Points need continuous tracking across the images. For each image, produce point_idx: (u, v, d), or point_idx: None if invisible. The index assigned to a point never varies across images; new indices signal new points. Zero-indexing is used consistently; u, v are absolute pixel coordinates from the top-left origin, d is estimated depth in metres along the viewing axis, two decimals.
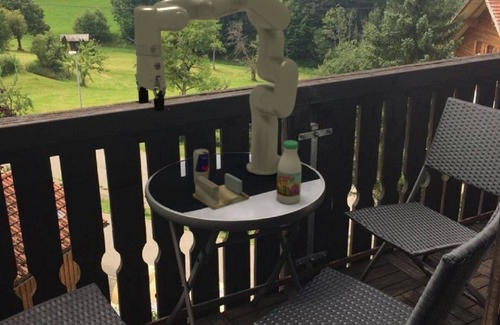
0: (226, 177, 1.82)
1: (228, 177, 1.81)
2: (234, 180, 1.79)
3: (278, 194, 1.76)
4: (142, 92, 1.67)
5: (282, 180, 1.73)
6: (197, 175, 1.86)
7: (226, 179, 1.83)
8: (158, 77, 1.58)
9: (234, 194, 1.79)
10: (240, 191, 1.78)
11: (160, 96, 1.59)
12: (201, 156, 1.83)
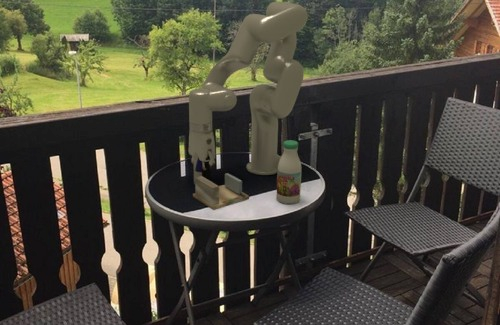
0: (226, 177, 1.82)
1: (228, 177, 1.81)
2: (234, 180, 1.79)
3: (278, 194, 1.76)
4: None
5: (282, 180, 1.73)
6: (197, 175, 1.86)
7: (226, 179, 1.83)
8: (209, 152, 1.81)
9: (234, 194, 1.79)
10: (240, 191, 1.78)
11: (208, 168, 1.83)
12: None
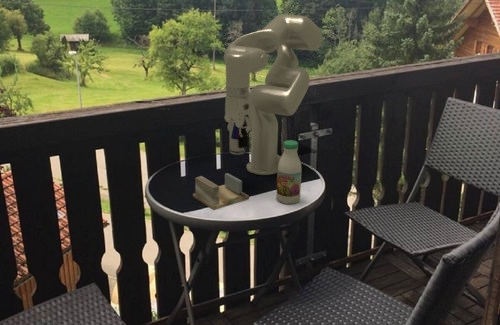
0: (226, 177, 1.82)
1: (228, 177, 1.81)
2: (234, 180, 1.79)
3: (278, 194, 1.76)
4: None
5: (282, 180, 1.73)
6: (233, 142, 1.78)
7: (226, 179, 1.83)
8: (246, 118, 1.73)
9: (234, 194, 1.79)
10: (240, 191, 1.78)
11: (244, 135, 1.75)
12: None
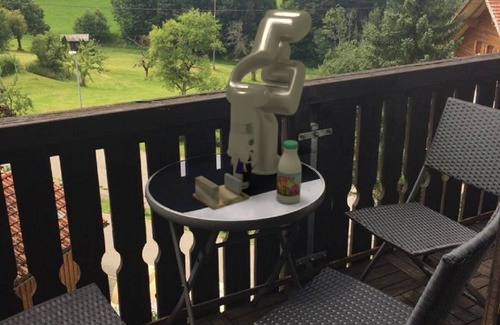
0: (226, 177, 1.82)
1: (228, 177, 1.81)
2: (234, 180, 1.79)
3: (278, 194, 1.76)
4: None
5: (282, 180, 1.73)
6: (237, 177, 1.79)
7: (225, 179, 1.82)
8: (251, 153, 1.75)
9: (234, 194, 1.79)
10: (240, 191, 1.78)
11: (249, 170, 1.77)
12: None
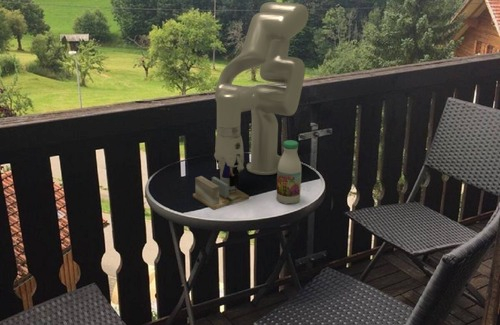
0: (213, 181, 1.79)
1: (215, 181, 1.78)
2: (221, 184, 1.76)
3: (278, 194, 1.76)
4: None
5: (282, 180, 1.73)
6: (224, 181, 1.77)
7: (213, 182, 1.80)
8: (237, 157, 1.72)
9: (234, 194, 1.79)
10: (227, 195, 1.75)
11: (236, 174, 1.74)
12: None
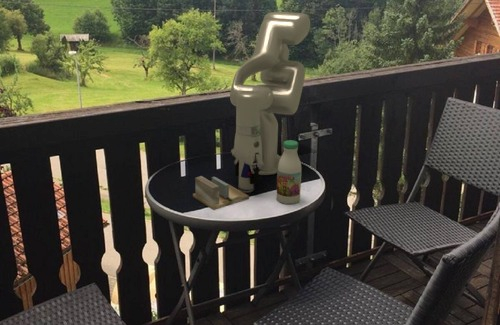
0: (213, 181, 1.79)
1: (215, 181, 1.78)
2: (221, 184, 1.76)
3: (278, 194, 1.76)
4: None
5: (282, 180, 1.73)
6: (243, 181, 1.82)
7: (213, 182, 1.80)
8: (256, 155, 1.76)
9: (234, 194, 1.79)
10: (227, 195, 1.75)
11: (256, 171, 1.78)
12: None
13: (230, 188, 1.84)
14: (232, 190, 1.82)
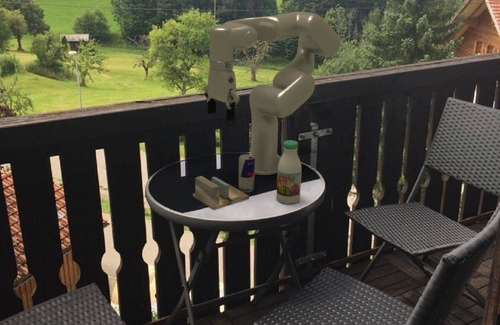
0: (213, 181, 1.79)
1: (215, 181, 1.78)
2: (221, 184, 1.76)
3: (278, 194, 1.76)
4: (211, 103, 1.84)
5: (282, 180, 1.73)
6: (243, 181, 1.82)
7: (213, 182, 1.80)
8: (231, 90, 1.75)
9: (234, 194, 1.79)
10: (227, 195, 1.75)
11: (233, 107, 1.76)
12: (248, 162, 1.79)
13: (230, 188, 1.84)
14: (232, 190, 1.82)
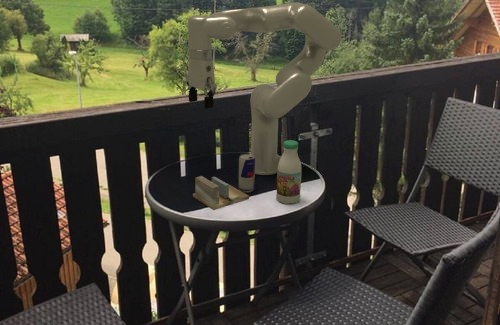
0: (213, 181, 1.79)
1: (215, 181, 1.78)
2: (221, 184, 1.76)
3: (278, 194, 1.76)
4: (192, 91, 1.88)
5: (282, 180, 1.73)
6: (243, 181, 1.82)
7: (213, 182, 1.80)
8: (209, 78, 1.79)
9: (234, 194, 1.79)
10: (227, 195, 1.75)
11: (210, 95, 1.80)
12: (248, 162, 1.79)
13: (230, 188, 1.84)
14: (232, 190, 1.82)
